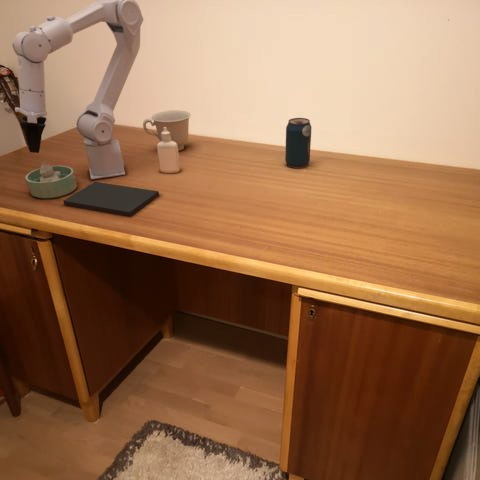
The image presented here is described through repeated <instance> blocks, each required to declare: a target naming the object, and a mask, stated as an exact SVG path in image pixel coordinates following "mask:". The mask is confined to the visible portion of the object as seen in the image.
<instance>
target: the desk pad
mask: <svg viewBox="0 0 480 480" xmlns="http://www.w3.org/2000/svg"><path fill="white" fill-rule="evenodd" d="M159 196H160V191H159V190H155V189H147V188H142V187H141V188H140V187H133V186H128V185H127V186H126V185H120V184H113V183H107V182H101V181H94V182H92V183H90V184H89V185H87V186H85V187H84V188H82V189H80V190H79V191H77V192H76V193H75V192H74V193H73V194H71V195H70V196H68V197H67V198H65V199H64V200H63V205H64V206H67V207H68V206H69V207H74V208H79V209H85V210H91V211H95V212H103V213H108V214H112V215H113V214H114V215H120V216H126V217H130V218H131V217H132V216H134V215H135V214H136V213H138V212H139V211H140V210H142V209H144V208H145V207H146V206H148V205H149V204H150V203H152V201H154V200H155V199H157V198H158V197H159Z"/></svg>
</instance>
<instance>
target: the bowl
mask: <svg viewBox="0 0 480 480" xmlns="http://www.w3.org/2000/svg"><path fill="white" fill-rule="evenodd" d="M50 166H51V167H52V168H53V170H54V172H55V171H59V172H60V173H61V179H58V180H54V181H48V182H40V178H41V177H42V175H41V174H40V169H41V167H39V168H36V169H34V170H32V171H30V172H28V173H27V174H26V175H25V182H26V185H27V188H28V191H29V194H30V195H31V196H32V197H35V198H38V199H44V200H45V199H46V200H47V199H55V198H56V199H57V198H61V197H64V196H67V195H69V194H71V193H73V192H74V191H75V190H76V189H77V187H78V183H77V180H76V175H75V173H74V169H73V168H72V167H70V166H67V165H50Z"/></svg>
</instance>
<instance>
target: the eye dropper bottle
mask: <svg viewBox="0 0 480 480" xmlns="http://www.w3.org/2000/svg"><path fill="white" fill-rule="evenodd" d="M161 137H162V141H161V142H160V141H159V142H158V143H157V144H156V151H157V157H158V164H159V171H160V172H161V173H165V174H176V173H179V172H180V170H181V162H180V154H179V151H178V146H177V143H176V142H174V141H171V137H170V132H168V131H167V129H166V127H163V132H162V133H161Z"/></svg>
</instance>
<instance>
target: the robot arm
mask: <svg viewBox="0 0 480 480" xmlns="http://www.w3.org/2000/svg"><path fill="white" fill-rule="evenodd" d="M101 22H102V23H105V24H106V26H107V27H108V28H109V30H110V31H111V33H112V34H113V37H114V39H115V42H116V46H115V48H114V51H113V53H112V55H111V57H110V60H109V63H108V65H107V67H106V69H105V71H104V75H103V76H102V79H101V82H100V85H99V87H98V89H97V92H96V94H95V97H94V99H93V100H92V102H91V103H89V104H88V105H87V106H86V107H85V109H84V110H83V112H82V113H81V114H80V115H79V116H78V117H77V119H76V122H75V123H76V129H77V132H78V133H79V134H80V135H81V136H82V137H83V144H84V149H85V153H86V156H87V160H88V166H89V169H88V171H89V177H90V179H91V180H100V179H105V178H106V179H107V178H113V177H119V176H125V175H126V171H125V162H124V159H123V156H122V155H123V154H122V151H121V146H120V142H119V139H118V138H115V139H112V138H113V135H114V125H115V123H116V118H115V115H114V110H115V108H116V105H117V103H118V101H119V99H120V96H121V93H122V91H123V89H124V87H125V84H126V82H127V79H128V77H129V74H130V72H131V70H132V68H133V65H134V63H135V61H136V59H137V56H138V54H139V51H140V48H141V26H142V24H143V22H144V17H143V14H142V10H141V8H140V6H139V4H138V2H137V1H136V0H96V1H94V2H93V3H90V5H88V6H86V7H84V8H82V9H81V10H79V11H77V12H76V13H74V14H72V15H70V16H68V17H67V18H62V17H60V16H54V15H49V16H47V17H46V21H44V22H43V23H41V24H39V25H37V26H35V25H30V26H29V32H28V31H21V32H18V33H17V34H16V35H15V37H14V39H13V42H12V43H11V45H12V46H11V47H12V49H13V52H14V53H15V55H16V56H17V72H18V73H17V75H18V76H17V77H18V92H19V107H16V106H15V108H14V111H15V112H17V113H20V114H22V116H21V118H22V119H20V120H19V125H20V126H21V128H22V131H23V132H24V135H25V139H26V144H27V148H28V151H29V153H32V154H33V153H34V154H35V153H36V154H40V149H41V143H42V135H43V132H44V131H45V128H46V122H47V117H46V116H47V115H48V112H47V108H46V107H47V106H46V82H45V81H46V80H45V77H46V76H45V61H46V60H47V58H48V56H49V55H50V54H53V53H54V52H56V51H58V50H60V49H61V48H63V47H66V46H67V45H69V44H71V43H72V41H73V37H74V34H77V33H80V32H81V31H84V30H85V29H88V28H90V27H93V26H94V25H97V24H99V23H101Z"/></svg>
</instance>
